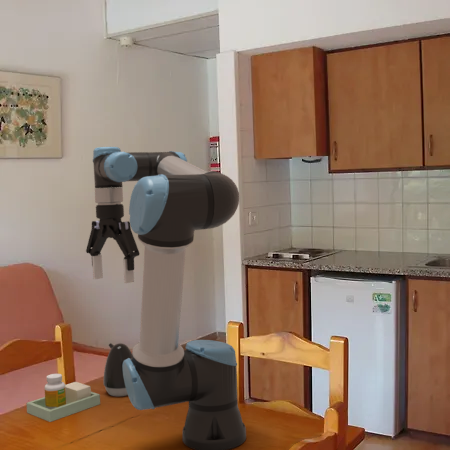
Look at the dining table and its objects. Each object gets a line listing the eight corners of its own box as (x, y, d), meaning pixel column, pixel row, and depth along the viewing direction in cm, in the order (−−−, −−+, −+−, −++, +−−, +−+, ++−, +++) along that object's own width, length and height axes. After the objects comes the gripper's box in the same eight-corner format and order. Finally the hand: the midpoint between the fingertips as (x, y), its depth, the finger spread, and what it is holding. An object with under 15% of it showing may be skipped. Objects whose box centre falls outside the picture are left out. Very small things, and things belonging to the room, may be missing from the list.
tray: (100, 406, 175) (99, 394, 175) (50, 424, 163) (49, 411, 163) (76, 398, 182) (76, 386, 182) (27, 415, 170) (26, 402, 170)
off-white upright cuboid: (91, 404, 175) (90, 386, 175) (77, 408, 172) (76, 390, 171) (76, 398, 180) (75, 381, 179) (62, 403, 176) (61, 385, 176)
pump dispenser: (126, 386, 192) (124, 337, 191) (146, 394, 184) (144, 342, 183) (97, 395, 185) (94, 344, 184) (116, 403, 177) (114, 350, 176)
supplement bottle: (60, 415, 168) (58, 379, 167) (42, 414, 169) (40, 378, 168) (69, 407, 173) (68, 372, 172) (51, 407, 174) (49, 372, 173)
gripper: (150, 203, 168) (153, 282, 169) (92, 203, 184) (96, 275, 186) (128, 204, 162) (132, 286, 164) (71, 204, 179) (75, 278, 180)
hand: (113, 280), depth 175 cm, fingers open, 13 cm apart
